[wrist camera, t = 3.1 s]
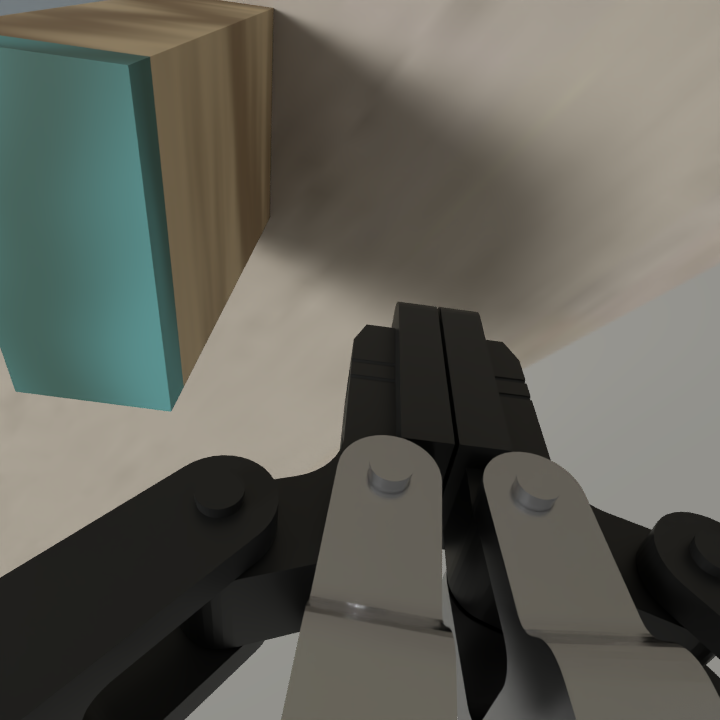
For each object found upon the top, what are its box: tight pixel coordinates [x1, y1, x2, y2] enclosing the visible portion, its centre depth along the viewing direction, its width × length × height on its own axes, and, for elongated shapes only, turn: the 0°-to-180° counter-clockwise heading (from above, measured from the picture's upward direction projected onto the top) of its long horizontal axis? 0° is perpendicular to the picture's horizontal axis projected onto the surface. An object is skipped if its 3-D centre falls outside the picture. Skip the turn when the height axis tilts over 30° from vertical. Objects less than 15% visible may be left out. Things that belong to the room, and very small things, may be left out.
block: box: [0, 0, 273, 411], centre depth 17 cm, size 4×8×13 cm, turn 173°
